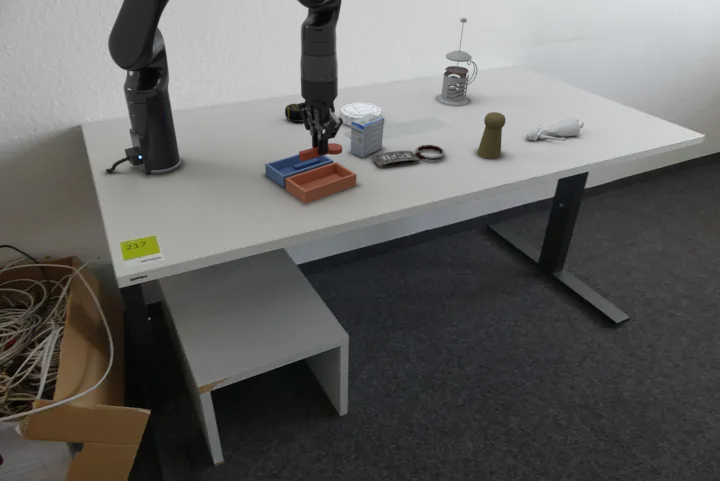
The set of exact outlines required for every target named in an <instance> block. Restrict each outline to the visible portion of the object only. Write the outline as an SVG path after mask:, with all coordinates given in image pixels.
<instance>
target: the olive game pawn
mask: <svg viewBox="0 0 720 481" xmlns="http://www.w3.org/2000/svg"><path fill="white" fill-rule="evenodd" d="M483 122H484V130H483V133H482V137H481V139H480V142H479V146H478V149H477V151H476V152H477V156H478V157H480V158H482V159H486V160H497V159H499V158H501V154H502V153H501V152H502V136H503V128H504V127H505V126H506V116H505V115H504V114H503V113H501V112H497V111H494V112H493V111H491V112H488V113H487V114H486V115H485V116H484V119H483Z"/></svg>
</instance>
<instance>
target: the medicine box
mask: <svg viewBox="0 0 720 481" xmlns="http://www.w3.org/2000/svg"><path fill="white" fill-rule="evenodd" d="M384 123H385V118H384V117H380V116H377V115H374V114H369V115H366V116H364V117H362V118H359V119H357V120H355V121H353V122H352V124H351V126H350V127H351V129H350V153H351V154H353V155H355V156H357V157H360V158H363V159H364V158H366V157H367V156H369V155H371V154H373V153H375V152H376V151H379V150H381V149H382V148H383V138H384V137H383V136H384Z"/></svg>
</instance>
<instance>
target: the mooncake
mask: <svg viewBox="0 0 720 481" xmlns="http://www.w3.org/2000/svg"><path fill="white" fill-rule="evenodd" d="M369 114H374V115H377V116H380V117H382V115H383V111H382V109H381V107H380V106H378V105H375V104H373V103H369V102H350V103H347V104H345V105H343V106H342V107H341V108H340V110H339V118H342V120H343V123H342V124H344V125H346V126H348V127H351V124H352V122H353V121H355V120H357V119H359V118H362V117H364V116H366V115H369ZM382 118H383V117H382Z"/></svg>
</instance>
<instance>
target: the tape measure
mask: <svg viewBox="0 0 720 481" xmlns="http://www.w3.org/2000/svg"><path fill="white" fill-rule="evenodd" d="M298 104H299V103H290V104H287V105H286V106H285V109H284V116H285V118H286V119H287V120H289V121H292V122H303V119H302V117H301V114H300V111H299V108H298ZM306 113H307V112H306ZM307 120H308V118H307Z"/></svg>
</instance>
